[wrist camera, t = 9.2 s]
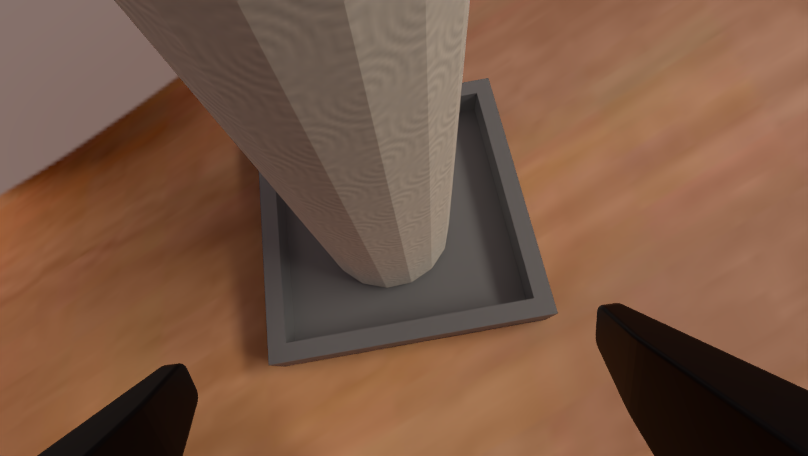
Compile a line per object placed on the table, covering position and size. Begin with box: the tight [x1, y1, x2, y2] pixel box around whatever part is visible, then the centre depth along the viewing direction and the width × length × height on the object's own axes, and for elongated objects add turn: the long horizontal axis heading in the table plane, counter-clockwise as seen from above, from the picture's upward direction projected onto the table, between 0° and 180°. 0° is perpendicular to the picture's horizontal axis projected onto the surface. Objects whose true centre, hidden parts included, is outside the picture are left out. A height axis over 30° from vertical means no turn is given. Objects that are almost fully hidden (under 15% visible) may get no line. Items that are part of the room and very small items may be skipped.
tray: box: [259, 78, 558, 366], centre depth 21 cm, size 13×13×2 cm
